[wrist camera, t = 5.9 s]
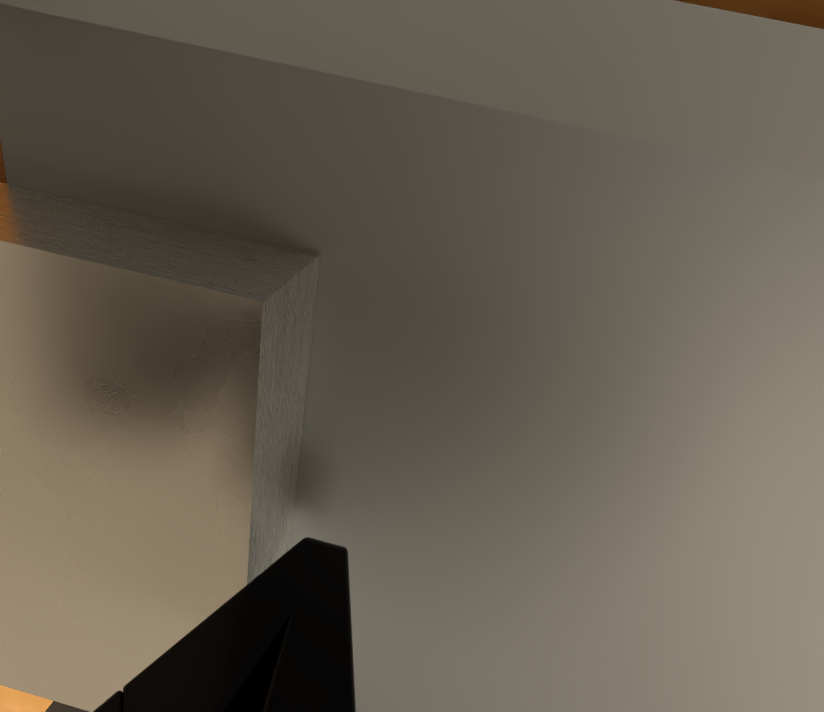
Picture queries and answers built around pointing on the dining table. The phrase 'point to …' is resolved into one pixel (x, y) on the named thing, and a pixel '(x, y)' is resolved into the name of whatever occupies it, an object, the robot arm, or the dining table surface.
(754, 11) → the dining table surface
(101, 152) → the slide box
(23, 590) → the cover plate
